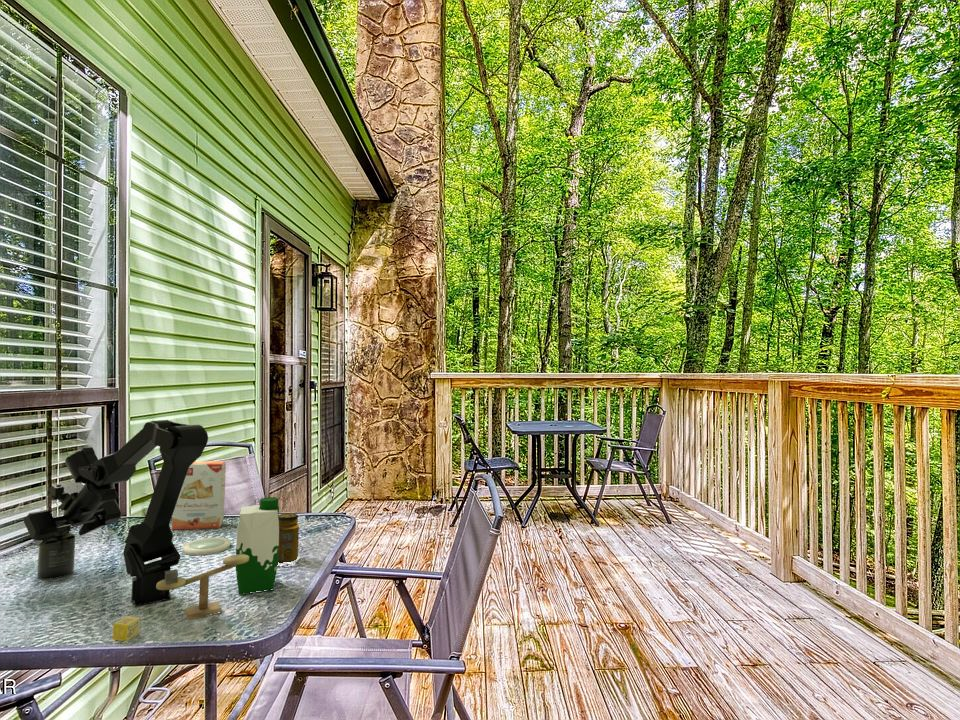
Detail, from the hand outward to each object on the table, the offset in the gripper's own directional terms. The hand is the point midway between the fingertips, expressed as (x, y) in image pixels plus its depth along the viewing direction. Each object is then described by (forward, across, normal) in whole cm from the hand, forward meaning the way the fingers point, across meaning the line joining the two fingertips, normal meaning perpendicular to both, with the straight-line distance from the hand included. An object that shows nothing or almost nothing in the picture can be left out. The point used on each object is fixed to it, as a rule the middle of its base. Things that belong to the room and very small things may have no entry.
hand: (59, 539), depth 125 cm
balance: (-30, +1, +41) cm, 50 cm away
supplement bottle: (+6, 0, +6) cm, 9 cm away
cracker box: (+10, -43, +2) cm, 44 cm away
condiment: (-24, -30, +36) cm, 53 cm away
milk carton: (-29, -14, +41) cm, 52 cm away
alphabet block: (-26, +13, +38) cm, 48 cm away
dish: (-5, -29, +17) cm, 34 cm away
